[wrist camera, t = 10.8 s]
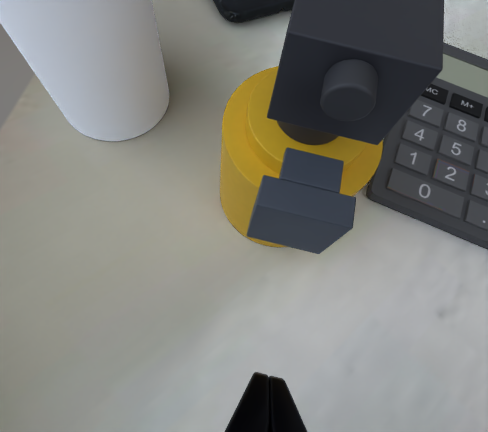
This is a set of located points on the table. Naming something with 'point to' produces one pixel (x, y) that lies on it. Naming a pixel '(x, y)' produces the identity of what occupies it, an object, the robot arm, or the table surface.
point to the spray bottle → (329, 93)
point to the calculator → (441, 152)
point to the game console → (251, 8)
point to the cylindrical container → (94, 61)
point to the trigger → (303, 204)
